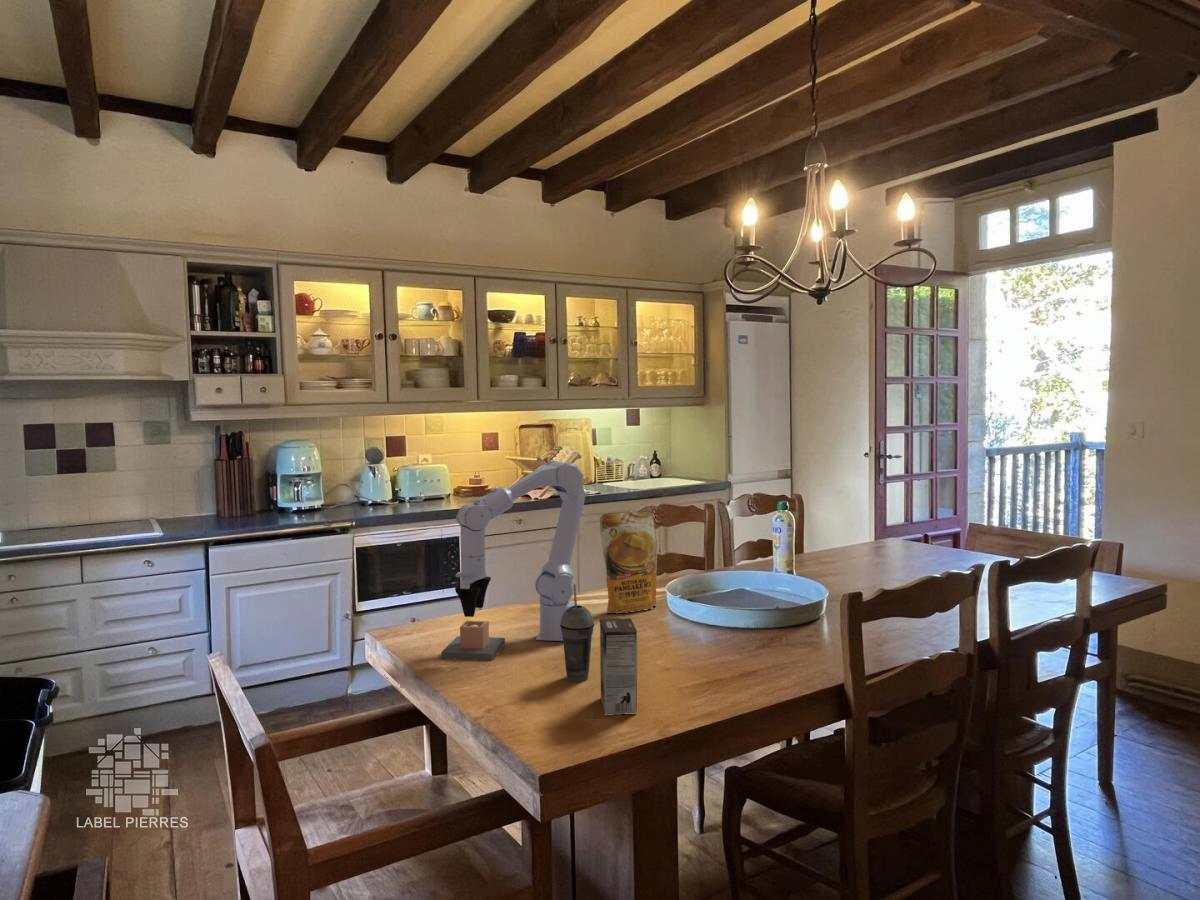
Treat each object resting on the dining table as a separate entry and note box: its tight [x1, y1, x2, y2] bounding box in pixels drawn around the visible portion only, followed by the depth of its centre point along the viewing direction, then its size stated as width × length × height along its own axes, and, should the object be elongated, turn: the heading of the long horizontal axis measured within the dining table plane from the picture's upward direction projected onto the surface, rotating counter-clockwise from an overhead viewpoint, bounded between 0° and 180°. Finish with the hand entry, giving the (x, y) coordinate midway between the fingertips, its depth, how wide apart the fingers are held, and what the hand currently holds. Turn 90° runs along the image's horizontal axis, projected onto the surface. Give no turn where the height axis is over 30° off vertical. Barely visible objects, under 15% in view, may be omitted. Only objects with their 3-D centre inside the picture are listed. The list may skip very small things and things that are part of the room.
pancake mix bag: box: [599, 510, 658, 615], centre depth 214 cm, size 7×19×28 cm, turn 117°
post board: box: [441, 625, 506, 661], centre depth 179 cm, size 12×12×6 cm
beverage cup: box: [560, 583, 595, 683], centre depth 161 cm, size 7×7×20 cm
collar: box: [459, 620, 490, 649], centre depth 179 cm, size 5×5×5 cm
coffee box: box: [599, 617, 638, 715], centre depth 146 cm, size 9×6×16 cm
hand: (473, 611), depth 179 cm, fingers open, 7 cm apart
